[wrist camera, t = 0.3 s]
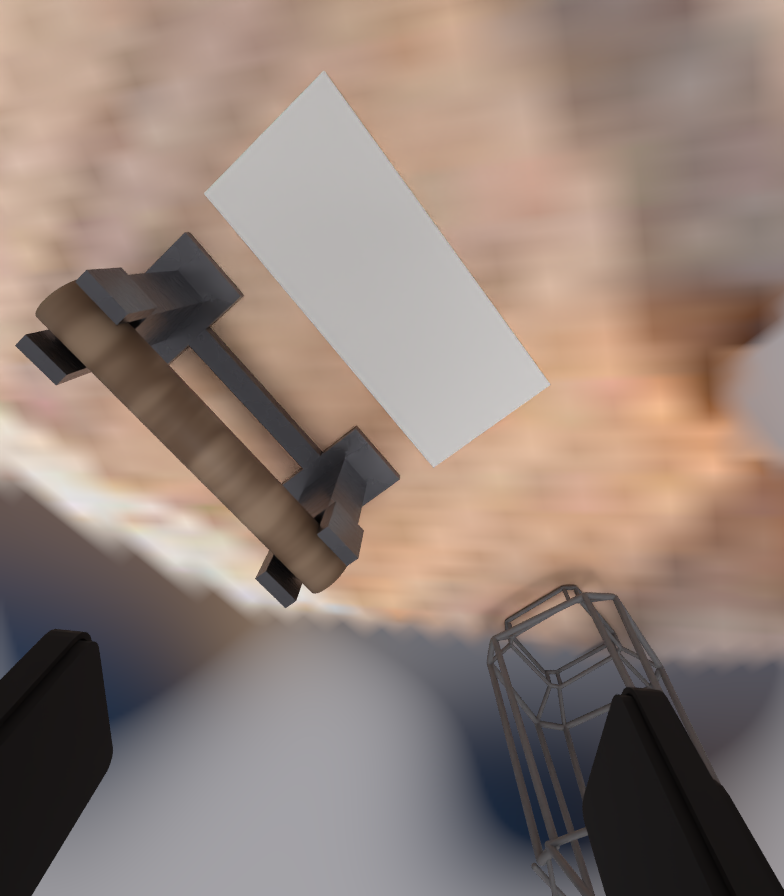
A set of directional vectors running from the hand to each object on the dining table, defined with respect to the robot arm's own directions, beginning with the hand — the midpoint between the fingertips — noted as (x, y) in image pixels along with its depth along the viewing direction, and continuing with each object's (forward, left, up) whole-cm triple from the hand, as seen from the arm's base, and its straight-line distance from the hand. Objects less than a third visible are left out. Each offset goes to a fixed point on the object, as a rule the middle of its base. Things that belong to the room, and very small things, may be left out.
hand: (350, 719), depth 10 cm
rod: (-5, -12, -26) cm, 29 cm away
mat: (-5, +2, -36) cm, 36 cm away
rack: (-5, -12, -36) cm, 38 cm away
